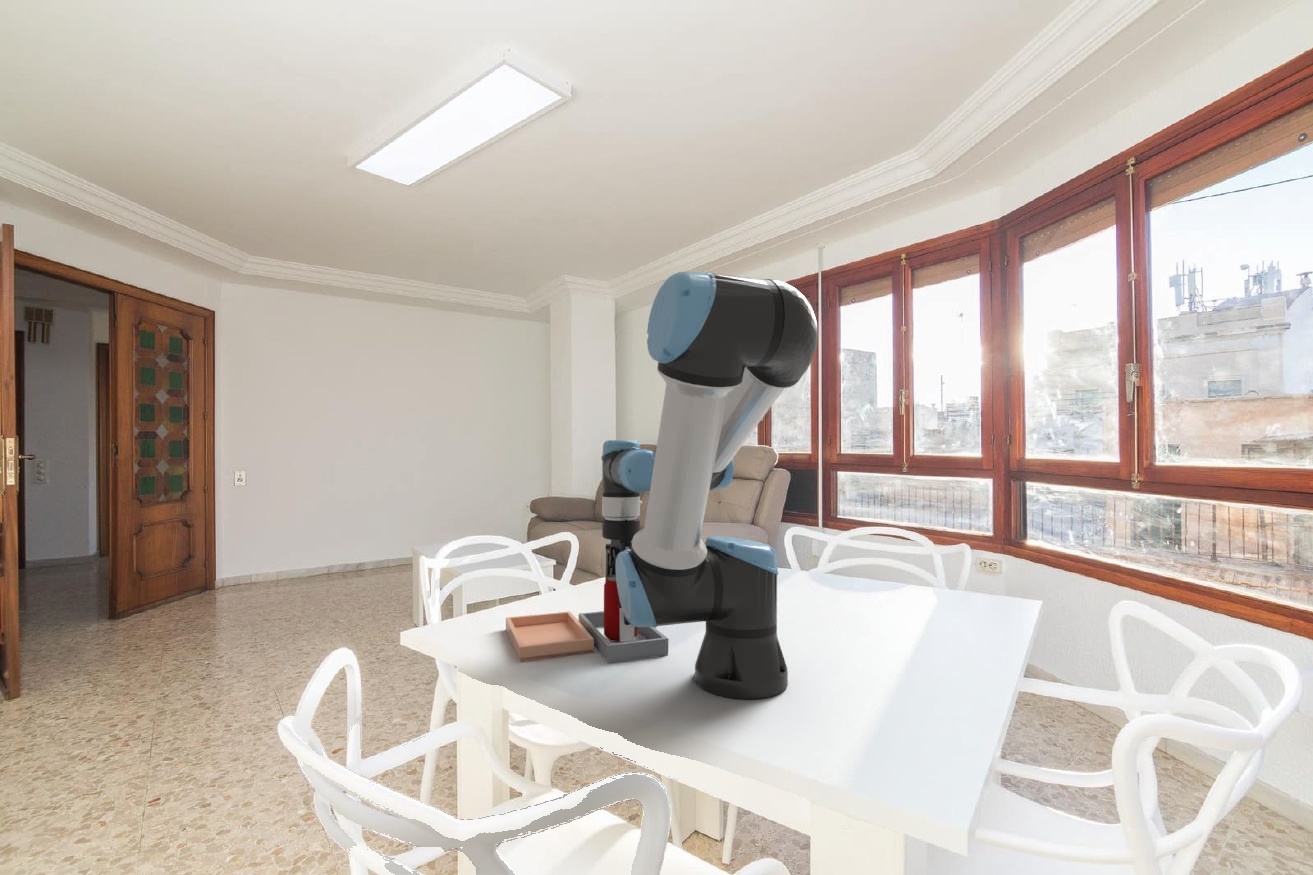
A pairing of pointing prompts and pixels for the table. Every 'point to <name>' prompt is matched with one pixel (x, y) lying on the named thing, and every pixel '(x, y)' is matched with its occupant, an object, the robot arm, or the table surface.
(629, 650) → the grey bin
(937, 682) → the table surface
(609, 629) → the beverage can
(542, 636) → the terracotta dish
